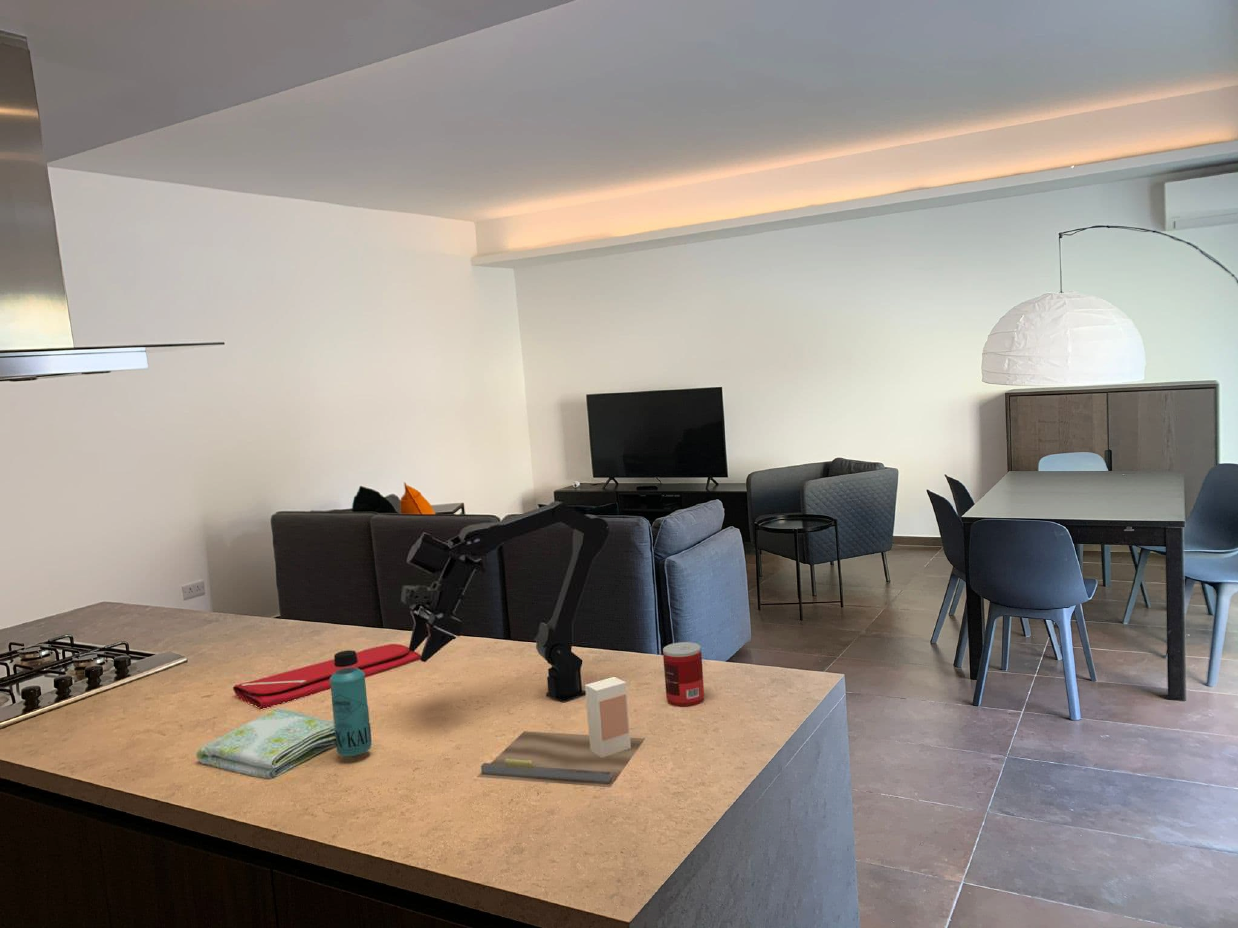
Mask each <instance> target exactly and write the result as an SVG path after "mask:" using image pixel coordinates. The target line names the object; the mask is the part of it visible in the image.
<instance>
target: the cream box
mask: <svg viewBox="0 0 1238 928" xmlns="http://www.w3.org/2000/svg"><path fill="white" fill-rule="evenodd" d="M584 686H585V688H584V690H585V691H586V694H585V700H586V712H587V713H586V715H587V724H588V727H587V728H588V735H589V739H590V751H592V752H594V753H595V754H597V755H598V756H600V757H602V758H603V757H606V756H609V755H612V754H615V753H618V752H621V751H624V750H627V749H630V748H631V742H630V737H631V732H630V730H631V729H630V719H629V717H630V715H629V706H628V705H629V704H628V690H627V682H626V681H624V680H621V679H619V678H617V677H615V676H613V677H609V678H605V679H601V680H598V681H594V682H591V683H587V684H585V685H584Z"/></svg>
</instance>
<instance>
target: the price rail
mask: <svg viewBox="0 0 1238 928" xmlns="http://www.w3.org/2000/svg"><path fill="white" fill-rule="evenodd" d="M481 772H482V775H495V776H508V777H521V778H534V779H547V780H560V781H573V782H586V783H599V784H610V783H611V781H612V778H611V772H602V771H588V770H574V769H561V768H547V767H533V761H532V760H518V759H505V764H491V762H490V763H489V762H484V763H482V764H481V766H480V773H481Z"/></svg>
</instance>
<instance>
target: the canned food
mask: <svg viewBox="0 0 1238 928" xmlns="http://www.w3.org/2000/svg"><path fill="white" fill-rule="evenodd" d="M702 656H703V655H702V647H701V645H700V644H699V643H695V642H691V641H690V642H689V641H682V642H673V643H670V644H668V645H666V646H664V647H663V648H662V657H663V668H664V669H663V670H664V671H663V673H664V683H665V686H664V687H665V697H666V701H667V702H668V704H670V705H672V706H675V707H680V708H681V707H683V708H684V707H685V708H686V707H692V706H696V705H698V704H701V703H702V702H703V700H704V697H705V687H704V674H703V673H704V670H703V669H704V668H703V657H702Z"/></svg>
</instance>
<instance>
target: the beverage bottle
mask: <svg viewBox="0 0 1238 928" xmlns="http://www.w3.org/2000/svg"><path fill="white" fill-rule="evenodd" d="M356 653H357V652H356V650H342V651H339V652H336V653H335V654H334V655H333V659H334V665H335V666H336V667H347V666H351V665H354V664H356V663H357V662H358V659H357V655H356ZM330 683H331V689H330V693H331V694H330V695H331V706H332V707H331V708H332V718H333V719H332V721H334V723H333V724H334V727H335V733H334V735H335V737H336V739H335V743H336V746H335V748H336V751H337V754H338V755H339V756H342V757H352V756H358V755H362V754H364V753H366V752H368V751H369V750H370V749H371V747H372V741H373V740H372V738H373V737H372V733H371V732H372V729H371V722H370V711H369V709H370V708H369V707H370V706H369V705H368V697H367V696H368V695H367V685H366V678H365V673H364V672H363V671H362V670H360V669H358V668H356V667H347V668H342V669H339V670H337V671H335V672H334V674H333V675H332V676H331V677H330Z"/></svg>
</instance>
